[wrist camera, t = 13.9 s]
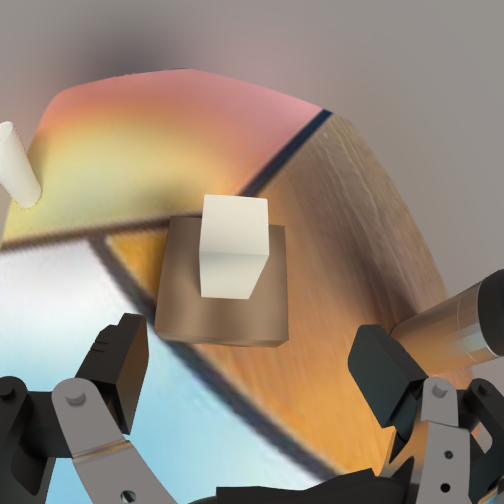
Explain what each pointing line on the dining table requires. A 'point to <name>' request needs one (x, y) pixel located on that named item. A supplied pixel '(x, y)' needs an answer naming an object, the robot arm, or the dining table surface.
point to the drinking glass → (17, 169)
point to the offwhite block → (232, 245)
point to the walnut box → (219, 309)
